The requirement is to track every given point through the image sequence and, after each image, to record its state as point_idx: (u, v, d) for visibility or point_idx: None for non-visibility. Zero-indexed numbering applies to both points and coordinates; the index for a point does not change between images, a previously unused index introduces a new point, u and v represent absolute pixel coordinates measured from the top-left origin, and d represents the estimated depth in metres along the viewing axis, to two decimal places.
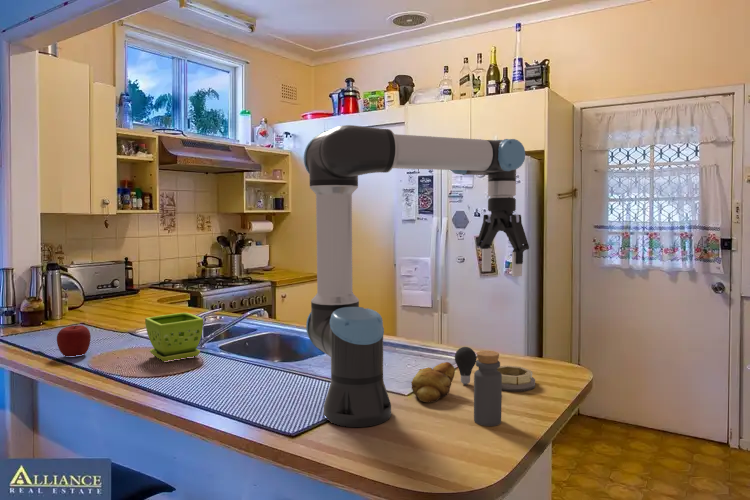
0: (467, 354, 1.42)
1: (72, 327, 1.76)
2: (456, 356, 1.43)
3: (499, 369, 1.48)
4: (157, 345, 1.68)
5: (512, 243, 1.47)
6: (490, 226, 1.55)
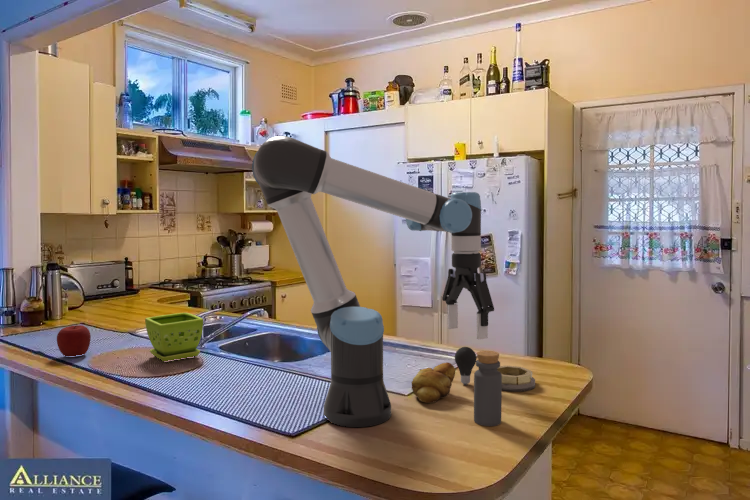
0: (467, 354, 1.42)
1: (72, 327, 1.76)
2: (456, 356, 1.43)
3: (499, 369, 1.48)
4: (157, 345, 1.68)
5: (476, 304, 1.37)
6: (455, 282, 1.45)
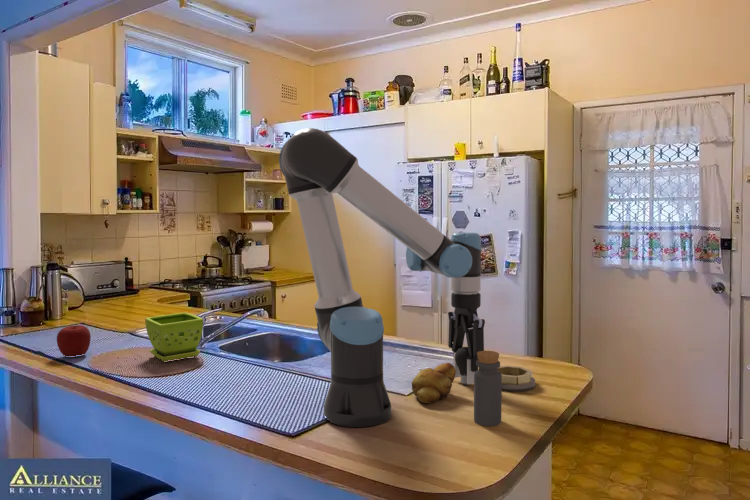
0: (467, 354, 1.42)
1: (72, 327, 1.76)
2: (456, 356, 1.43)
3: (499, 369, 1.48)
4: (157, 345, 1.68)
5: (468, 348, 1.41)
6: (456, 323, 1.45)
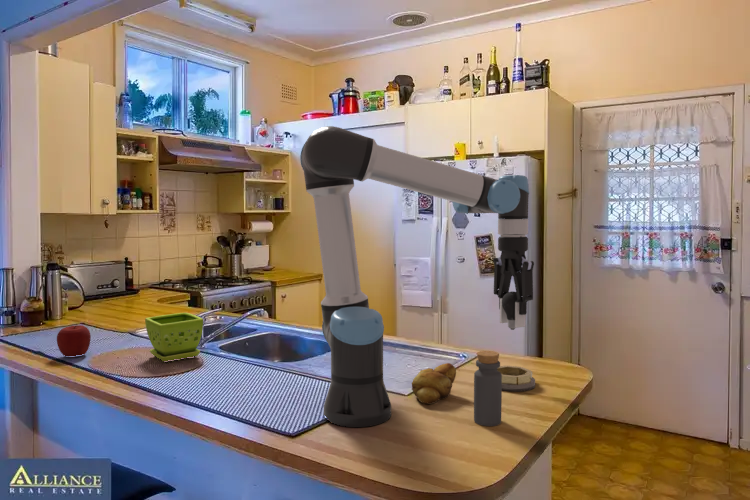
0: (515, 298, 1.41)
1: (72, 327, 1.76)
2: (503, 300, 1.42)
3: (499, 369, 1.48)
4: (157, 345, 1.68)
5: (517, 291, 1.40)
6: (502, 268, 1.44)
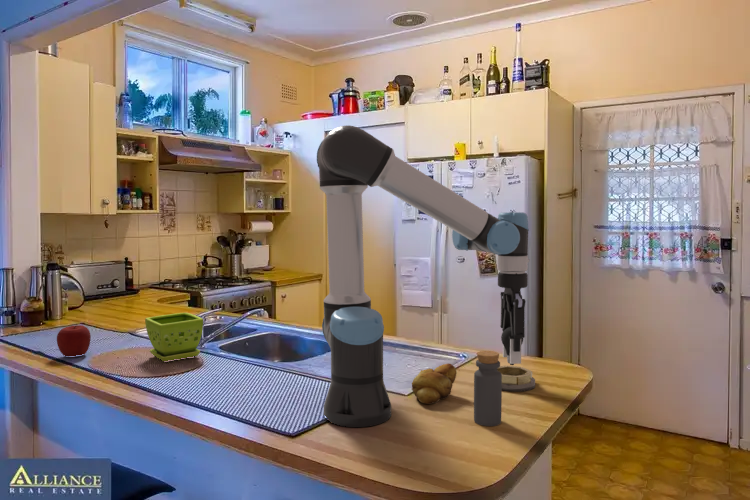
0: None
1: (72, 327, 1.76)
2: None
3: (499, 369, 1.48)
4: (157, 345, 1.68)
5: (511, 328, 1.40)
6: (503, 303, 1.45)
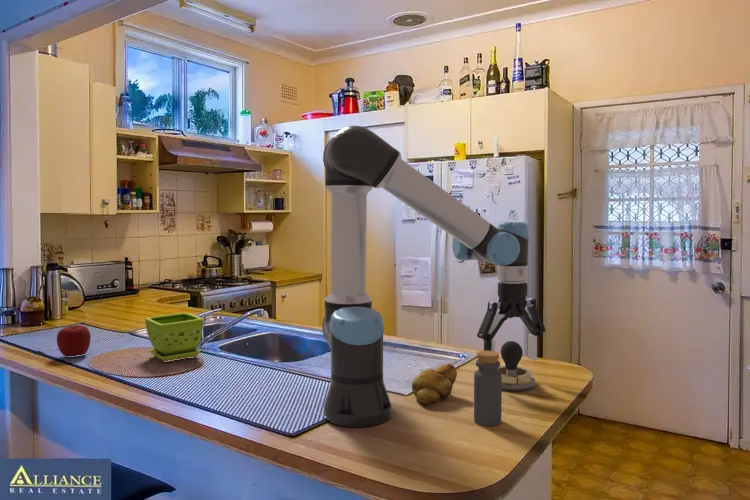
0: (502, 346, 1.44)
1: (72, 327, 1.76)
2: None
3: (499, 369, 1.48)
4: (157, 345, 1.68)
5: None
6: None
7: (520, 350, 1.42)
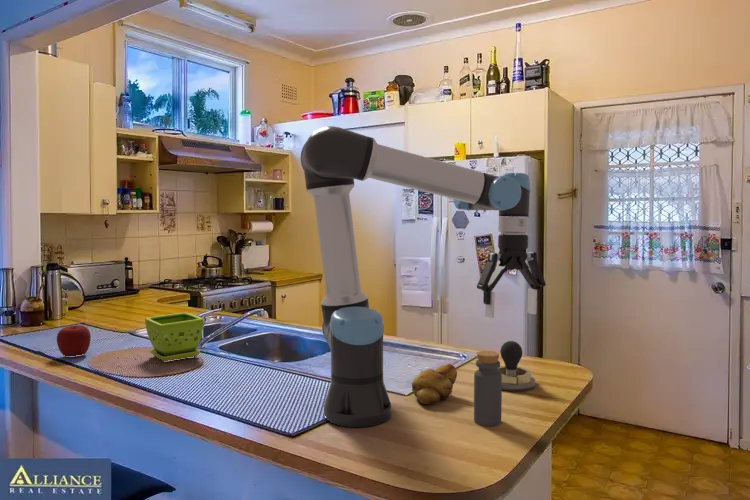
0: (502, 346, 1.44)
1: (72, 327, 1.76)
2: None
3: (499, 369, 1.48)
4: (157, 345, 1.68)
5: None
6: None
7: (520, 350, 1.42)
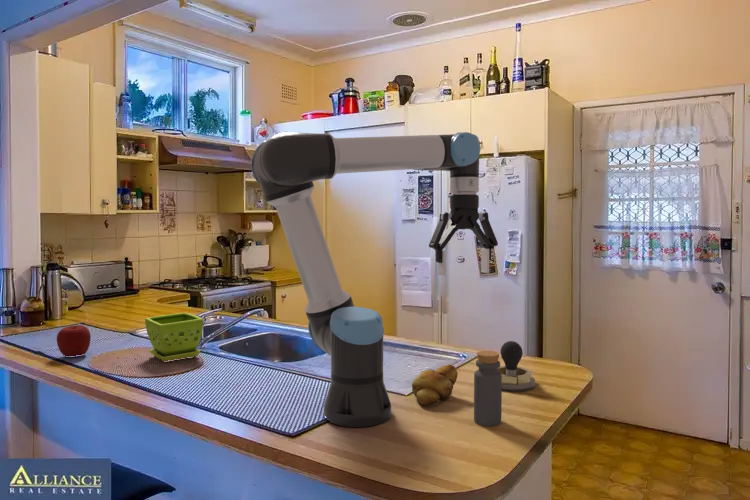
0: (502, 346, 1.44)
1: (72, 327, 1.76)
2: None
3: (499, 369, 1.48)
4: (157, 345, 1.68)
5: None
6: None
7: (520, 350, 1.42)
